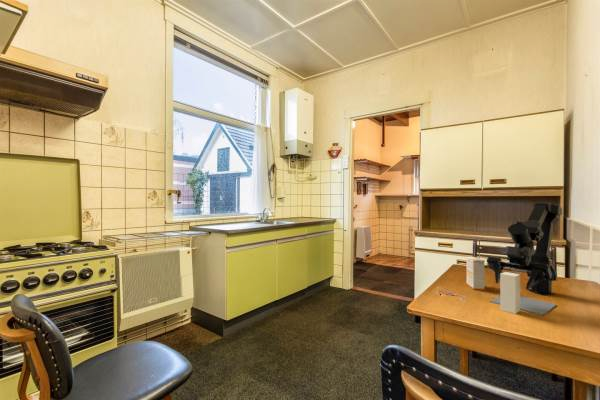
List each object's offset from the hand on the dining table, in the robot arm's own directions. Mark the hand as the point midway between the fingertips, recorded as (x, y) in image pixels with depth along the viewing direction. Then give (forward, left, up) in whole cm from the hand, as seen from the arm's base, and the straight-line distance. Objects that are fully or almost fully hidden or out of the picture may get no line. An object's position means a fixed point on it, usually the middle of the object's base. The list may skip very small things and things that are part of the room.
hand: (511, 285), depth 102 cm
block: (+1, 0, -9) cm, 9 cm away
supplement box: (-7, -26, -9) cm, 28 cm away
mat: (-10, -5, -9) cm, 14 cm away
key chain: (+11, -17, -9) cm, 22 cm away
